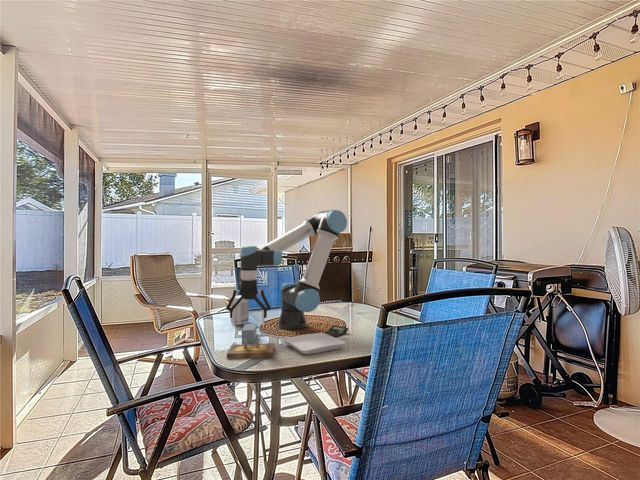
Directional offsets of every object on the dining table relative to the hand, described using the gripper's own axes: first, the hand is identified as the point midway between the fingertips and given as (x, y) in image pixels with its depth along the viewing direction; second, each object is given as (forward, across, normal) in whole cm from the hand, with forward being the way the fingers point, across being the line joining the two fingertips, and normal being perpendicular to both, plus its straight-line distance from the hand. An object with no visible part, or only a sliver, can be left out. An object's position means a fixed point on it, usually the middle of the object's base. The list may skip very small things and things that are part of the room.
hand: (248, 325), depth 175 cm
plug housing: (+7, -1, 0) cm, 7 cm away
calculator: (+7, -41, -6) cm, 42 cm away
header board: (+7, -4, +20) cm, 21 cm away
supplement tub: (+7, +8, -34) cm, 36 cm away
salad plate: (+7, -30, +14) cm, 33 cm away
